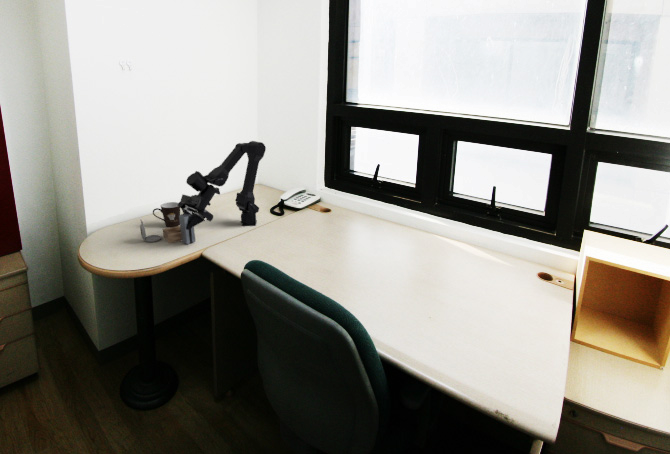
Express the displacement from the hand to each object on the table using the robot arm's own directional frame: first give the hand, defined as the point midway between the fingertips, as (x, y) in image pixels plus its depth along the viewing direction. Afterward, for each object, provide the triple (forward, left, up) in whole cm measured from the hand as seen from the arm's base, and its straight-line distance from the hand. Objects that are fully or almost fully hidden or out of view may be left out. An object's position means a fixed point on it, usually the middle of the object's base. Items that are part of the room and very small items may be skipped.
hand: (184, 228), depth 187 cm
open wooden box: (+5, -7, -7) cm, 11 cm away
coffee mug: (+13, -23, -7) cm, 27 cm away
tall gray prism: (-1, -1, -7) cm, 7 cm away
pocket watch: (+16, -4, -7) cm, 18 cm away
